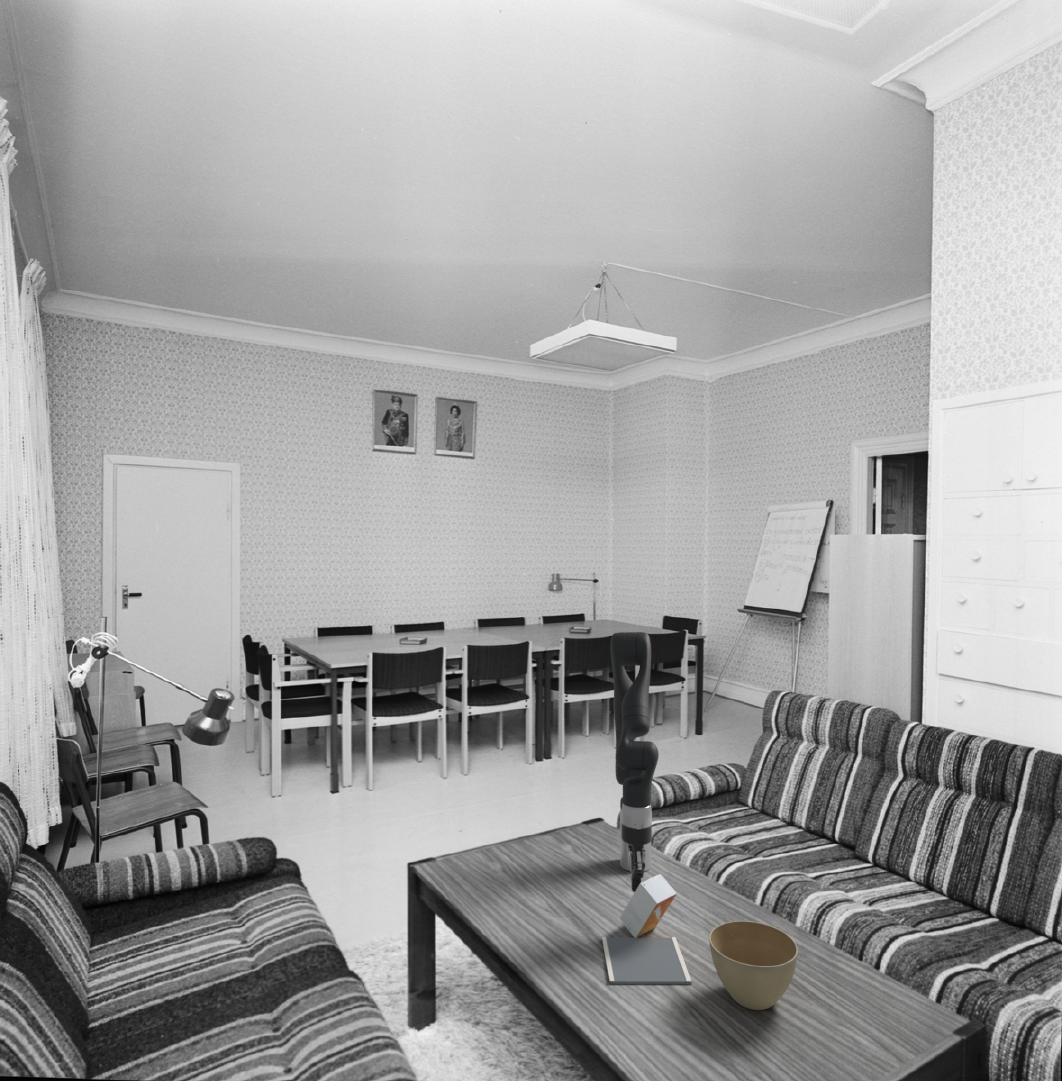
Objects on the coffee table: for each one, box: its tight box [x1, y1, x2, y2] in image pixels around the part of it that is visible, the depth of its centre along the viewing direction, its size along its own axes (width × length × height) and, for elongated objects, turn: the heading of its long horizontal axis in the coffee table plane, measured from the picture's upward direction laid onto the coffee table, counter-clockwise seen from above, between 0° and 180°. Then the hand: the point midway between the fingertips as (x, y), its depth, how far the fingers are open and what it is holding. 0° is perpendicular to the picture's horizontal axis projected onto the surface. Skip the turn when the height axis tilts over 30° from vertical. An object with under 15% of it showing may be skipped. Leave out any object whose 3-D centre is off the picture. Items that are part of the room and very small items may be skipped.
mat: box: [601, 936, 692, 985], centre depth 174 cm, size 18×18×1 cm
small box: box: [619, 873, 678, 937], centre depth 186 cm, size 8×6×13 cm
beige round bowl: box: [708, 920, 799, 1011], centre depth 160 cm, size 18×18×12 cm
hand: (636, 890), depth 187 cm, fingers closed
